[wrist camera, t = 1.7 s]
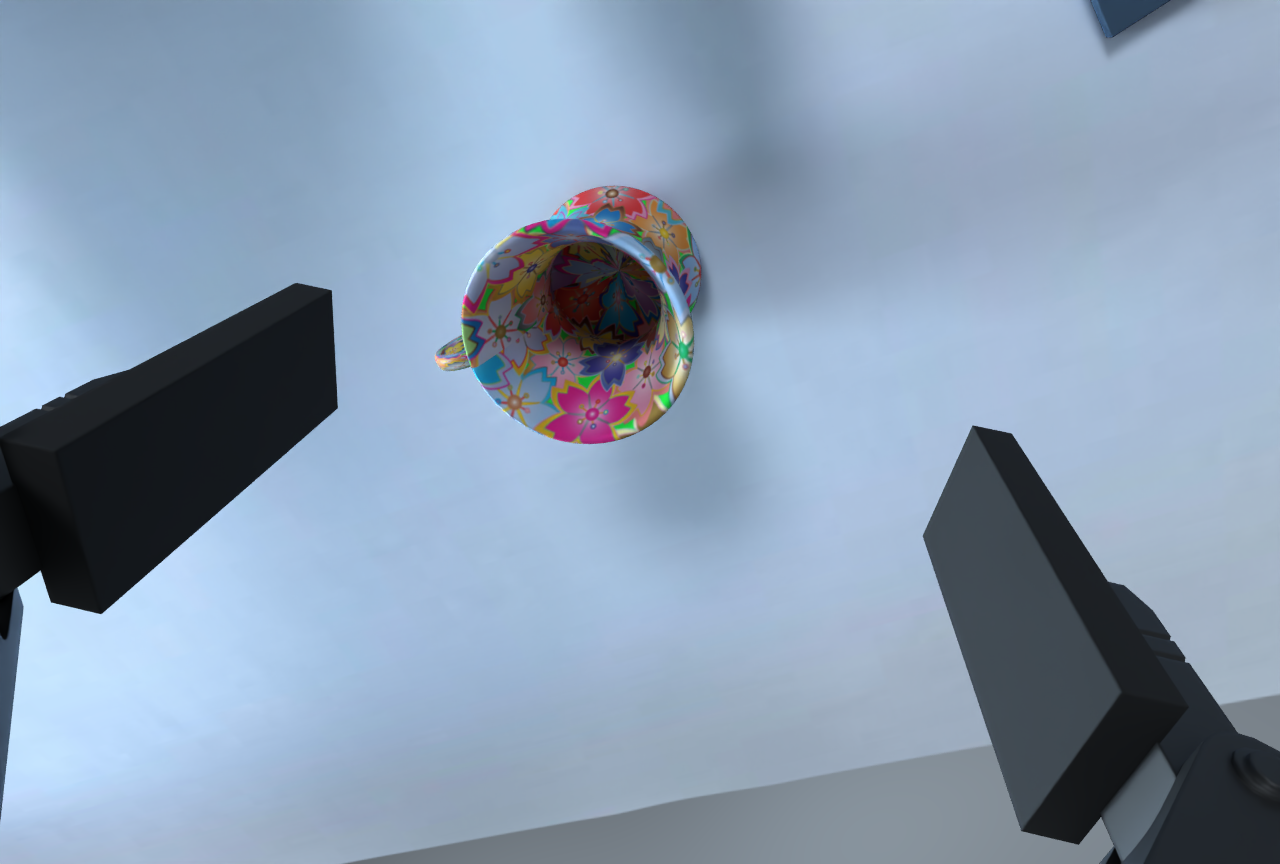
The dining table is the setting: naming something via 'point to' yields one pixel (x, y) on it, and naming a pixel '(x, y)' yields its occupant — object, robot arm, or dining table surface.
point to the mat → (1123, 13)
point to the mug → (584, 317)
